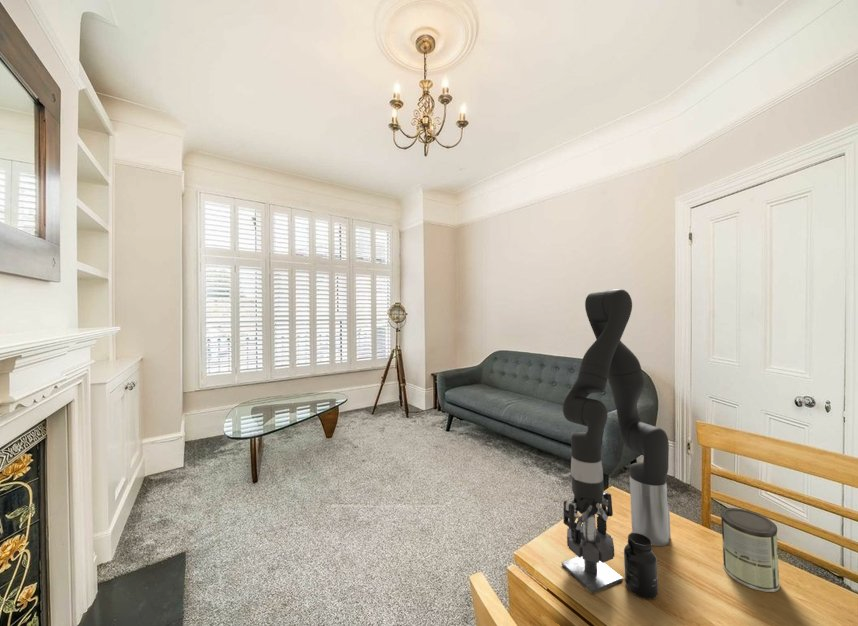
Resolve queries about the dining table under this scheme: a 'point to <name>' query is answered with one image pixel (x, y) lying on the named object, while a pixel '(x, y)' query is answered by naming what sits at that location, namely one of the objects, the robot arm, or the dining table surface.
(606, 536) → the ring
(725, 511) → the coffee can
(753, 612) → the dining table surface
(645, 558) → the supplement bottle
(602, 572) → the metal peg stand
